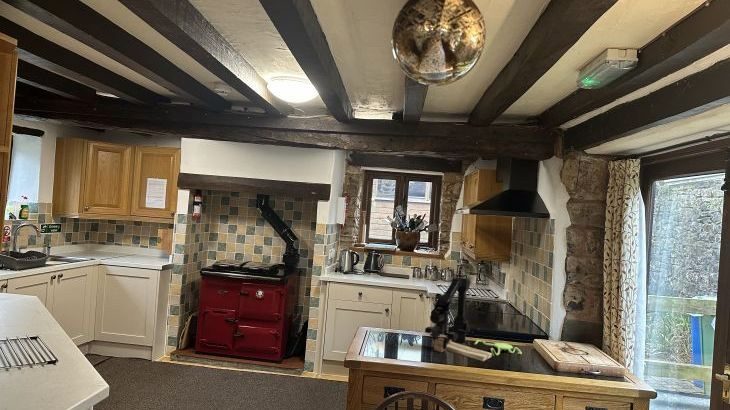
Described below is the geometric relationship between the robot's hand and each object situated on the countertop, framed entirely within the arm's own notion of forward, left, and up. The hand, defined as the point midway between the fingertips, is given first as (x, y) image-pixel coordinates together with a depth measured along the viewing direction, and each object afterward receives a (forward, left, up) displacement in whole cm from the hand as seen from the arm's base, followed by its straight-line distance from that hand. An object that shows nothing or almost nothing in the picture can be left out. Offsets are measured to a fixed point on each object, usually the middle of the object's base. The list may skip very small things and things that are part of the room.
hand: (440, 347), depth 271 cm
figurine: (-28, +23, -2) cm, 36 cm away
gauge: (-5, 0, -1) cm, 5 cm away
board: (-9, +11, -1) cm, 14 cm away
